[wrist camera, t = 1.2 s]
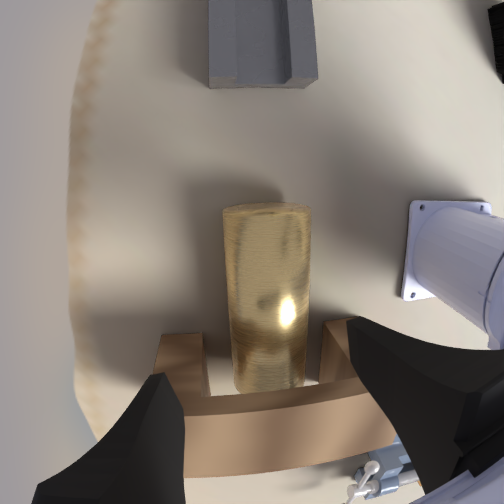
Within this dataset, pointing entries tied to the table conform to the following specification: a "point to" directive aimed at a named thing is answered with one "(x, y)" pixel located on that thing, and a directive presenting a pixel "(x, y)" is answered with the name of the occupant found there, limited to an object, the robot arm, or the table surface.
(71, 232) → the table surface
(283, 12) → the v block
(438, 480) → the robot arm
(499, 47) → the cpu cooler
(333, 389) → the wooden bridge block
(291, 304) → the brass cylinder
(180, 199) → the table surface
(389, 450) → the vise
